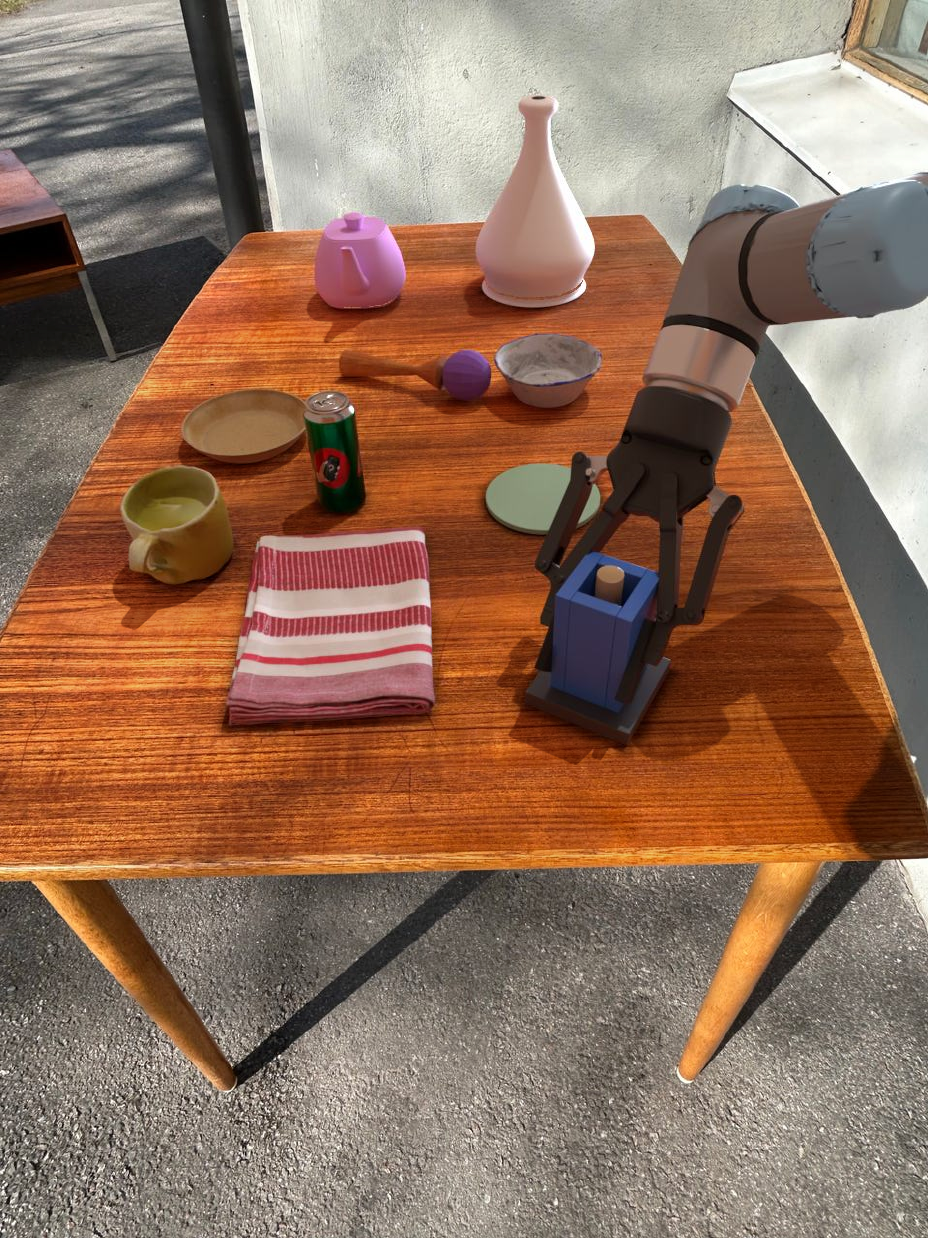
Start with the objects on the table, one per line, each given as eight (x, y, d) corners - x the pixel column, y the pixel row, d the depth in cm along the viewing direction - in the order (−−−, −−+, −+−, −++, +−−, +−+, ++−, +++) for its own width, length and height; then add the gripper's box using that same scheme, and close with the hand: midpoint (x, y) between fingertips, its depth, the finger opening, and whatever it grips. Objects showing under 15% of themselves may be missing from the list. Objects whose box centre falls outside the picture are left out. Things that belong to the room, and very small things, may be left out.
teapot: (325, 274, 137) (314, 194, 129) (409, 271, 136) (404, 192, 128) (308, 331, 122) (295, 246, 114) (403, 328, 122) (396, 242, 114)
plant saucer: (300, 397, 109) (297, 378, 107) (325, 458, 99) (322, 438, 97) (181, 420, 106) (175, 401, 104) (193, 486, 95) (187, 465, 94)
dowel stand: (571, 636, 77) (580, 523, 68) (669, 672, 73) (691, 557, 65) (524, 704, 71) (527, 590, 63) (627, 746, 68) (645, 632, 59)
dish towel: (227, 730, 70) (220, 709, 68) (260, 548, 87) (255, 527, 85) (436, 717, 70) (434, 695, 69) (428, 538, 87) (426, 517, 86)
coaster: (611, 478, 94) (612, 473, 94) (583, 544, 86) (583, 540, 86) (506, 459, 97) (506, 455, 97) (469, 521, 89) (469, 517, 89)
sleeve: (581, 640, 74) (589, 549, 67) (647, 665, 72) (662, 573, 65) (550, 686, 70) (555, 594, 64) (618, 714, 68) (631, 622, 61)
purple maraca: (355, 334, 112) (498, 346, 105) (359, 379, 115) (498, 394, 108) (331, 345, 108) (479, 359, 101) (336, 392, 111) (480, 409, 104)
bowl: (561, 357, 114) (563, 322, 111) (619, 399, 106) (623, 363, 103) (475, 383, 110) (475, 347, 107) (529, 429, 102) (530, 392, 98)
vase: (609, 300, 126) (626, 106, 109) (495, 317, 124) (493, 120, 106) (568, 257, 139) (577, 76, 122) (463, 271, 136) (457, 88, 119)
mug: (171, 497, 91) (158, 435, 82) (256, 542, 90) (252, 484, 81) (95, 583, 85) (72, 526, 76) (185, 632, 84) (172, 580, 75)
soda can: (374, 505, 92) (362, 404, 83) (331, 522, 90) (314, 420, 82) (353, 483, 95) (339, 383, 87) (311, 498, 93) (292, 397, 85)
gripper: (814, 445, 66) (707, 730, 67) (584, 388, 73) (492, 646, 74) (813, 415, 59) (693, 734, 60) (560, 356, 66) (458, 641, 68)
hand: (582, 685), depth 67 cm, fingers closed on sleeve, 6 cm apart
